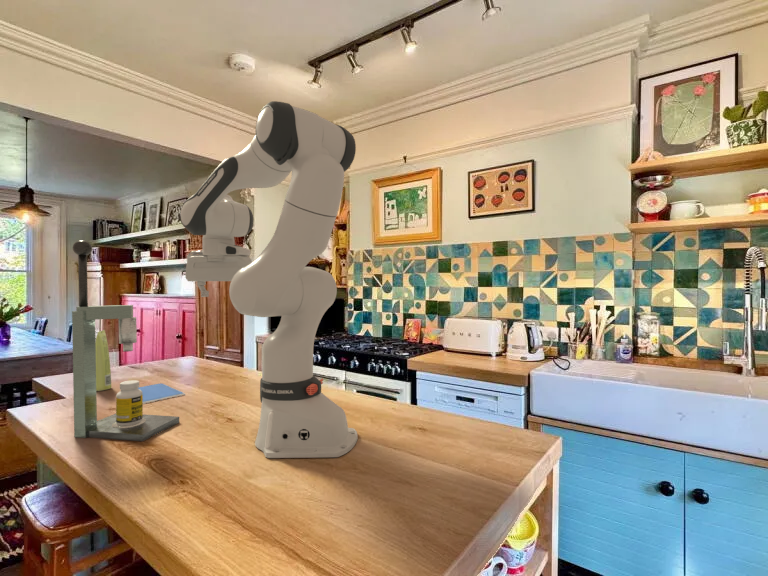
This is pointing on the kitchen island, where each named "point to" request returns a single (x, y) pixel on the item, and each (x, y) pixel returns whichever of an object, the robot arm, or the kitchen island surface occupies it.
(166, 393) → the tablet computer
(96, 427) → the press
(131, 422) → the supplement bottle
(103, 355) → the tube
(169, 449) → the kitchen island surface
